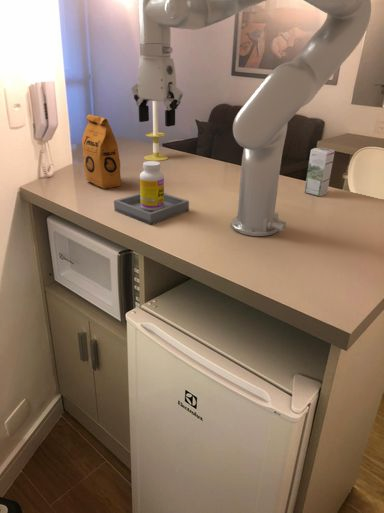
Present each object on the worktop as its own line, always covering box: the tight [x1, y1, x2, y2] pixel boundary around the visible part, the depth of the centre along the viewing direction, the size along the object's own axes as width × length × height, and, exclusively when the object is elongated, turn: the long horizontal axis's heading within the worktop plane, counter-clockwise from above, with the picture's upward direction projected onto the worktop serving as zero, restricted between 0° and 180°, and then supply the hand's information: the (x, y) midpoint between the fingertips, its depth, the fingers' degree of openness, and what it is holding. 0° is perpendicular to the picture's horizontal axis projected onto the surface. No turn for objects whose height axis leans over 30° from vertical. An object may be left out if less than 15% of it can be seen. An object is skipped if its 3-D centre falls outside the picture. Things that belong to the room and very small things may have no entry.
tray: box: [113, 192, 190, 226], centre depth 119 cm, size 15×15×3 cm
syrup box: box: [304, 146, 335, 197], centre depth 135 cm, size 6×6×14 cm
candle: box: [143, 101, 169, 162], centre depth 169 cm, size 10×10×27 cm
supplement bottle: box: [139, 160, 165, 211], centre depth 116 cm, size 7×7×13 cm
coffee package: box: [81, 114, 122, 190], centre depth 136 cm, size 10×12×22 cm
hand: (156, 123), depth 111 cm, fingers open, 9 cm apart
